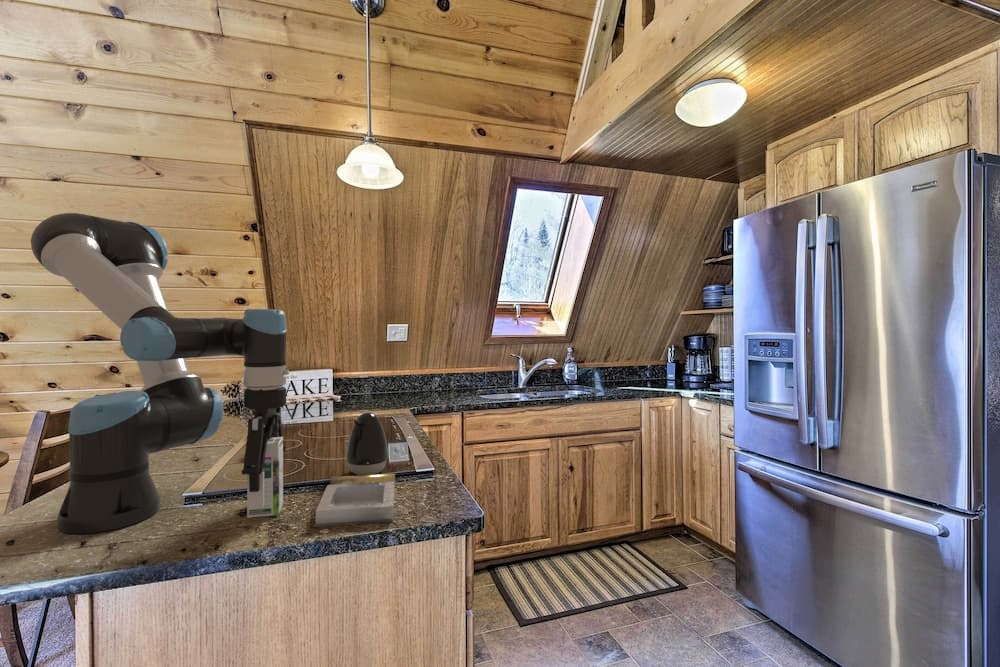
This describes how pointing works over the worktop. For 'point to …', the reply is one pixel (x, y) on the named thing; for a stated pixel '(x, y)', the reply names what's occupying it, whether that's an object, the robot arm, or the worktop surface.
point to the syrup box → (271, 480)
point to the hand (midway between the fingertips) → (265, 494)
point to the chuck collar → (356, 504)
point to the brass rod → (363, 479)
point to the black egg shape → (367, 446)
